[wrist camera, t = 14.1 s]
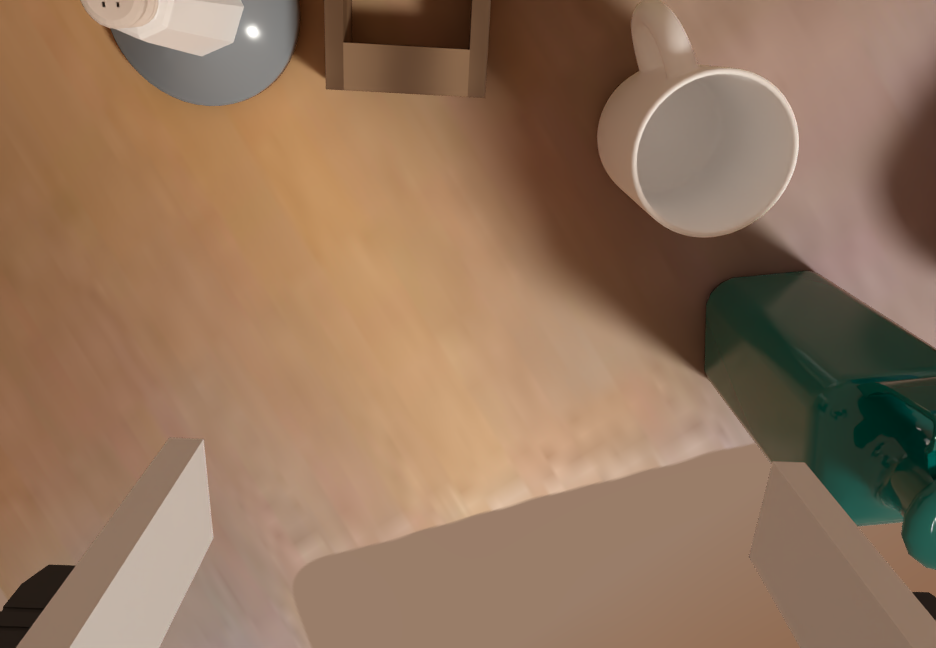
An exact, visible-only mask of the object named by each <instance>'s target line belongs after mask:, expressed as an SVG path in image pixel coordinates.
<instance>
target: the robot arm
mask: <svg viewBox="0 0 936 648" xmlns="http://www.w3.org/2000/svg"><path fill="white" fill-rule="evenodd" d="M212 539H213V530H212V519H211V509H210V499H209V489H208V479H207V468H206V458H205V448H204V439H194V438H169V439H168V440H167V442H166V443H165V444H164V446H163V447H162V448H161V450H160V451H159V453H158V454H157V455H156V457H155V458H154V459H153V461H152V462H151V464H150V465H149V466H148V468H147V469H146V470H145V472H144V473H143V474H142V476H141V477H140V479H139V480H138V481H137V483H136V484H135V485H134V487H133V488H132V490H131V491H130V492H129V494H128V495H127V496H126V498H125V499H124V500H123V502H122V503H121V505H120V506H119V507H118V509H117V510H116V511H115V513H114V514H113V516H112V517H111V518H110V520H109V521H108V522H107V524H106V525H105V526H104V528H103V529H102V531H101V532H100V533H99V535H98V536H97V537H96V539H95V540H94V541H93V543H92V544H91V546H90V547H89V548H88V550H87V551H86V552H85V554H84V555H83V557H82V558H81V559H80V561H79V562H78V563H77V565H76V566H71V565H48V566H46V567H45V568H43V569H42V570H41V571H39V572H38V573H36V574H35V575H34V576H32V577H31V578H29V579H28V580H27V581H25V582H24V583H22V584H21V585H20V587H19V588H18V589H17V590H16V592H15V593H14V594H13V595H12V597H11V598H10V599H9V600H8V602H7V603H6V604H5V605H4V607H3V610H2V611H1V612H0V648H159V647H160V645H161V643H162V641H163V639H164V637H165V635H166V633H167V631H168V628H169V626H170V624H171V622H172V620H173V618H174V616H175V614H176V612H177V610H178V608H179V606H180V604H181V602H182V600H183V598H184V596H185V594H186V592H187V590H188V588H189V586H190V584H191V582H192V580H193V578H194V576H195V574H196V572H197V570H198V568H199V566H200V564H201V562H202V560H203V558H204V556H205V554H206V552H207V550H208V548H209V546H210V544H211V542H212ZM749 558H750V560H751V561H752V563H753V565H754V567H755V568H756V570H757V572H758V574H759V576H760V577H761V579H762V581H763V583H764V584H765V586H766V588H767V590H768V591H769V593H770V595H771V597H772V599H773V600H774V602H775V604H776V606H777V607H778V609H779V611H780V613H781V614H782V616H783V618H784V620H785V621H786V623H787V625H788V627H789V629H790V630H791V632H792V634H793V635H794V637H795V639H796V641H797V643H798V645H799V646H800V648H936V597H935V596H933V595H932V594H930V593H927V592H911V591H910V589H909V588H908V587H907V586H906V585H905V583H904V582H903V581H902V580H901V579H900V578H899V576H898V575H897V574H896V572H894V570H893V569H892V568H891V566H890V565H889V564H888V563H887V561H886V560H885V559H884V558H883V557H882V555H881V554H880V553H879V552H878V551H877V549H876V548H875V547H874V546H873V545H872V543H871V542H870V541H869V540H868V538H867V537H866V536H865V535H864V534H863V532H862V531H861V530H860V529H859V528H858V526H857V525H856V524H855V523H854V522H853V520H852V519H851V518H850V517H849V515H848V514H847V513H846V512H845V511H844V509H843V508H842V507H841V506H840V505H839V503H838V502H837V501H836V500H835V499H834V497H833V496H832V495H831V494H830V492H829V491H828V490H827V489H826V488H825V486H824V485H823V484H822V483H821V482H820V480H819V479H818V478H817V477H816V475H815V474H814V473H813V472H812V471H811V469H810V468H809V467H808V466H807V465H806V463H803V462H777V461H772V466H771V469H770V473H769V477H768V482H767V486H766V490H765V494H764V498H763V502H762V506H761V510H760V514H759V518H758V522H757V526H756V530H755V534H754V538H753V542H752V546H751V550H750V554H749Z"/></svg>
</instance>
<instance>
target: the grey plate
mask: <svg viewBox="0 0 936 648" xmlns="http://www.w3.org/2000/svg"><path fill="white" fill-rule="evenodd" d="M241 1H242V3H243V6H244V9H243V12H242V16H241V19H240V22H239V26H238V29H237V32H236V36H235V39H234V43H232V44H229V45H227V46H225V47H222V48H220V49H218V50H216V51H213V52H211V53H209V54H206V55H204V56H198V55H194V54H190V53H186V52H183V51H179V50H175V49H171V48H167V47H163V46H159V45H156V44H152V43H148V42H145V41H143V40H140V39H137V38H135V37H132V36H130V35H128V34H126V33H123V32H121V31H119V30H117V29H113V28H110V29H111V31H112V34H113V36H114V38H115V41H116V42H117V44H118V46H119V48H120V49H121V51H122V53H123V54H124V55H125V57H126V58H127V60H128V61H129V62H130V64H131V65H132V66H133V67H134V68H135V69H136V70H137V71H138V72H139V74H140V75H142V76H143V77H144V78H145V79H146V80H147V81H148V82H150V83H151V84H152V85H154V86H155V87H157V88H158V89H159V90H161V91H163V92H165V93H167V94H168V95H170V96H172V97H175V98H177V99H180V100H182V101H185V102H189V103H193V104H197V105H206V106H222V105H228V104H234V103H237V102H240V101H244V100H247V99H249V98H252V97H254V96H256V95H258V94H260V93H261V92H263V91H264V90H266V89H267V88H268V87H269V86H271V85H272V84H273V83H274V82H275V81H276V80H277V79H278V78H279V76H280V75H281V74H282V73H283V72H284V70H285V68H286V67H287V65H288V64H289V62H290V60H291V58H292V55H293V53H294V51H295V48H296V44H297V41H298V37H299V31H300V20H301V10H300V0H241Z"/></svg>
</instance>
